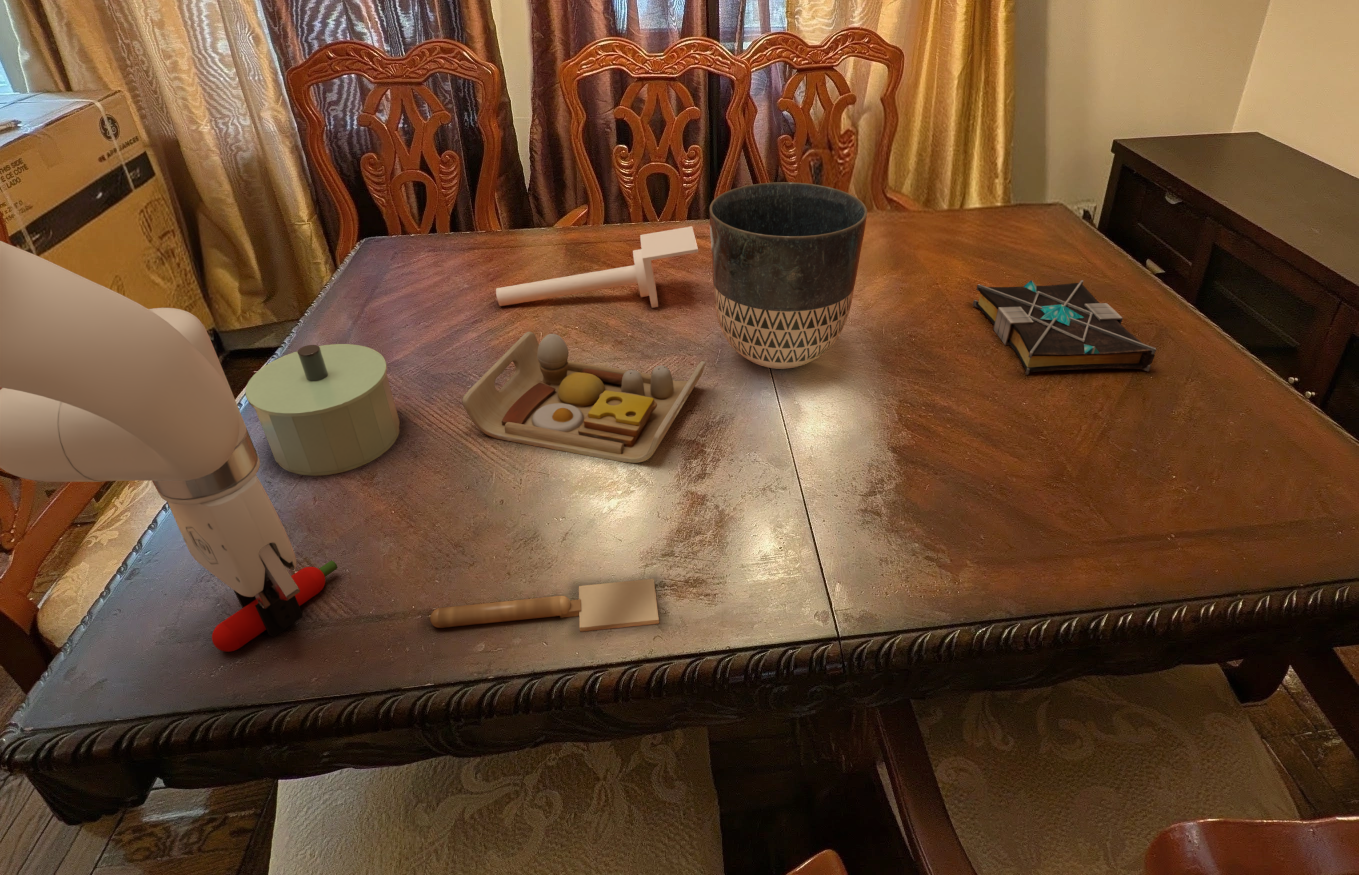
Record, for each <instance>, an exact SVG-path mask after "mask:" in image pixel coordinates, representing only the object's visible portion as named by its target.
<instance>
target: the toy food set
mask: <svg viewBox="0 0 1359 875" xmlns="http://www.w3.org/2000/svg"><path fill="white" fill-rule="evenodd" d="M569 355H570V352H569V347H568V345H567V343H566V341H565V340H564V339H563V337H561V336H560V335H559V334H556V333H549V334H546V335H545V336H544V337H543V338H542V339H541V341H540V342H539V341H538V339H537V337H536V334H535V333H534V332H532V331H527V332H525V333H524V334H523V335H522V336H521V337H520V338H519V339H518V340H517V341H516V342H515V343H513V345H512V346H511V347H510V348H509V349H508V350H507V351H506V352H505V353H504V354H502V356H500V358H498V359H497V361H496V362H495V363H494V364H493V365H492V366H491V367H490V368H489V369H488V370H487V371H486V372H485V373H484V374H483V375H482V376H481V377H480V378H479V379H478V380H477V381H476V382H475V383H474V384H473V385H472V386H471V387H470V388H469V389H468V390H467V391H466V392H465V394H464V395H463V396H462V399H461V403H462V404H461V405H462V406H463V408H464V410H465V412H466V414H467V415H468V416H469V418H470V420H471V421H472V422H473V424H474V425H475V427H477V428H478V429H479V431H481V433H484V434H485V435H487V436H489V437H491V438H493V439H498V440H503V441H508V442H513V443H517V444H521V445H528V446H534V447H541V448H546V449H551V450H556V451H560V452H561V451H562V452H565V453H566V452H567V453H573V454H577V455H583V456H587V457H588V456H589V457H594V458H598V459H604V460H610V461H616V462H624V463H629V464H633V463H635V464H637V463H643V462H646V461H647V460H649V459H650V458H651V457H652V456H653V455H654V453H656V450H657V449H658V447H659V446H660V444H661V443H662V441H663V439H664V438H665V436H666V435H667V433H668V431H669V429H670V428H671V426H672V425H673V422H675V419H677V418H676V417H677V416H678V415H679V413H680V411H681V410H682V408H683V406H684V405H685V403H686V401H687V400H688V398H689V396H690V395H691V393H692V392H693V390H694V388H695V386H696V385H697V383H698V382H699V380H700V378H701V377H702V375H703V374H704V370H705V368H706V364H707V361H706V360H700V361H699V363H698V364H697V366H696V367H695V369H694V370H693V372H692V374H691V375H690V377H689V378H688V379H687V380H674V379H673V375H672V372H671V370H670V369H669V367H667V366H666V365H662V364H661V365H657V366H655V367H654V368H653V369H652V371H651V373H645V372H639V371H638V370H636V369H629V370H627V369H622V368H615V367H609V366H603V365H597V364H591V363H585V362H578V361H575V360H574V361H573V360H569V359H568V358H569ZM512 363H513V364H514V367H515V372H514V373H513V375H512V376H511V377H509V379H508V380H507V381H506V382H505V383H504V384H503V385H502V387H500V389H499V390H497V388H496V380H497V378H498V377H499V376H501V375H502V373H503V372H505V370H506V369H507V368H508V367H509V366H510V365H511V364H512Z"/></svg>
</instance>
